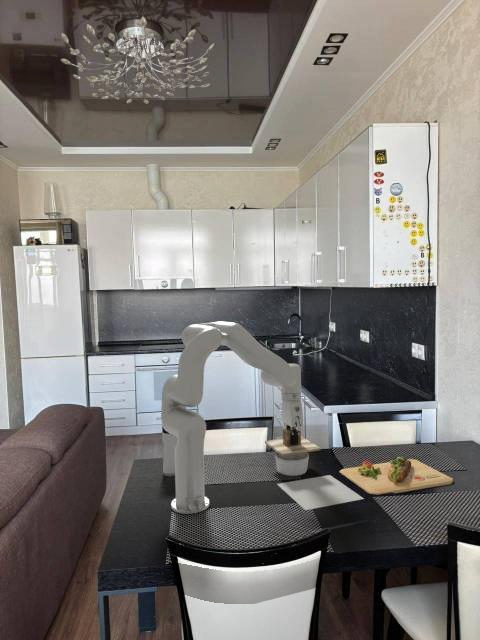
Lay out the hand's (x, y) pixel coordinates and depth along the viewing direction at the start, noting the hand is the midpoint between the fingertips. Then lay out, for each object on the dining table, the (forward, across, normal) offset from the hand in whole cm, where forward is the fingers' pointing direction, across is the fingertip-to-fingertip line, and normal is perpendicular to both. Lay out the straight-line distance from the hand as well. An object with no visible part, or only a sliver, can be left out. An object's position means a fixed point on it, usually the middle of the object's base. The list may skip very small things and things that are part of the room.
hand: (291, 442), depth 185 cm
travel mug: (+12, +16, +44) cm, 48 cm away
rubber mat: (+11, -21, 0) cm, 24 cm away
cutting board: (+13, -20, -33) cm, 40 cm away
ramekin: (+12, 0, 0) cm, 12 cm away
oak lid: (+2, 0, 0) cm, 2 cm away
